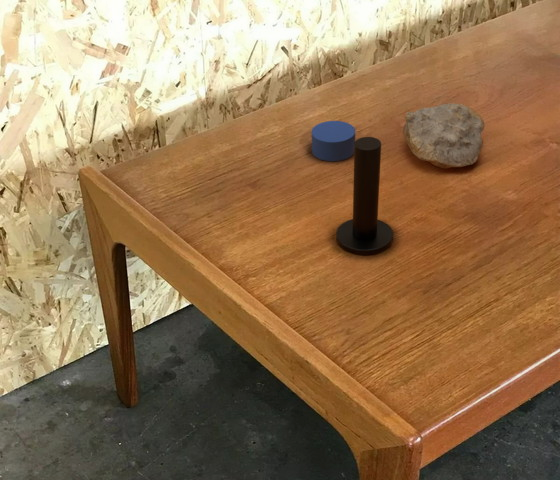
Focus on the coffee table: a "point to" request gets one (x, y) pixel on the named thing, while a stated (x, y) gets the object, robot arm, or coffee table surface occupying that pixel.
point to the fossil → (445, 134)
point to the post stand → (365, 204)
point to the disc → (333, 140)
